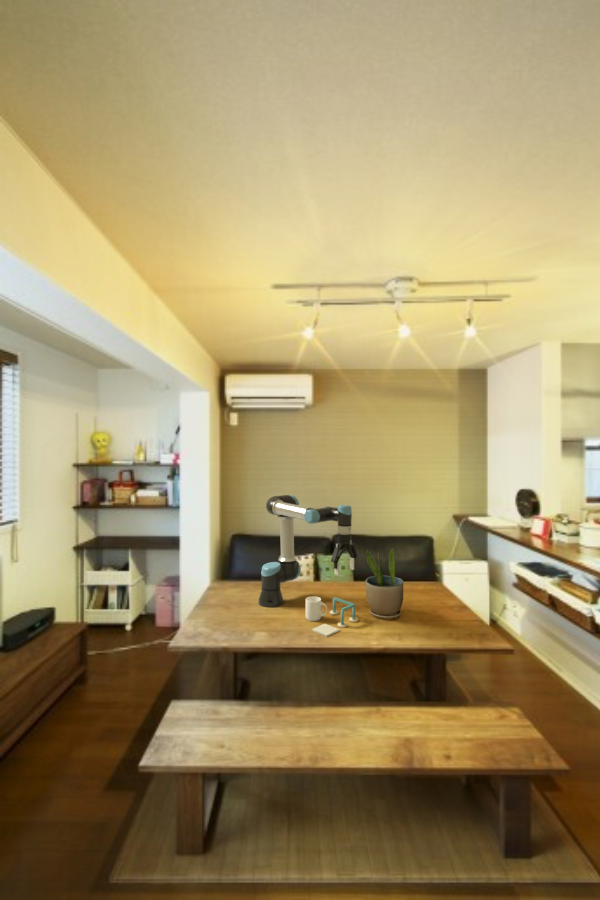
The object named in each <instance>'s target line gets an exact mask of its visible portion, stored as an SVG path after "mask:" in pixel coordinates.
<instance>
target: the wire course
mask: <svg viewBox="0 0 600 900" xmlns="http://www.w3.org/2000/svg"><path fill="white" fill-rule="evenodd" d="M337 602H339V603H341V604H344V605H347V606H344V607H342V608H341V610H340V613H339V611H338V610H337V607H336V606H337V605H336V604H337ZM350 609H351V610H352V612H351V613H352V616H351V617H349V619H348V621H349V622H351V623H358V622H359V617H356V604H355V602H351V601H349V600H344V599H341V598H339V597H335V596H334V597H333V598H332V609H331V610H330V611H329V614H330V615H332V616H337V615H339V614H340V622H338V623H337V628H338V627H339V629H340V628H343V629H344V628H347V627H348V624H347V623H346V622H345V612H346V611H347V610H350Z"/></svg>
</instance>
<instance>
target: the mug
mask: <svg viewBox="0 0 600 900" xmlns="http://www.w3.org/2000/svg"><path fill="white" fill-rule="evenodd" d="M322 606H323V607H325V610H326V611H325V612H324V613H323V612H322ZM327 612H328V607H327V605H326V604H325V603H324V602H323V601H322V598H321V597H319V596H314V595H313V596H308V597H306V598H305V613H304V614H305V619H306V620H307V621H309V622H318V621H320V620H321V618H322V617H325V616H326V615H327Z"/></svg>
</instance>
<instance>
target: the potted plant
mask: <svg viewBox="0 0 600 900" xmlns="http://www.w3.org/2000/svg"><path fill="white" fill-rule="evenodd" d="M388 557H389V560H388V572H389V575H384V571H383V565H382V562H381V558H380V554H379V553H377V558H378V559H377V560H378V562H379V563H378V564H377V562H376V561H375V558H374V557H373V555H372V554H371V552H370V551H369V550H368V549H367V550H366V561H367V565H368V567H369V569H370V570H371V572H372V573H373V575H374V576H373V575H372V576H369V577H367V578H366V579H365V593H366V594H365V595H366V600H367V604H368V606H369V608H370V609H369V613H370V614H371V615H372V616H373V617H375V618H377V619H382V620H395V619H397V618H399V617H400V616H401V615H402V610H401V608H402V606H403V602H404V601H403V600H404V580H403V579H402V578H399V577H396V576H395V575H396V573H395V572H396V571H395V570H396V569H395V568H396V567H395V566H396V563H395V553H394V548H392V549H391V550H390V553H389V556H388Z"/></svg>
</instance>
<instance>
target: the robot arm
mask: <svg viewBox="0 0 600 900" xmlns="http://www.w3.org/2000/svg"><path fill="white" fill-rule="evenodd" d="M337 506H338V507H333V506H323V507H322V508H313V507H308V506H303V505H300V502H299V500H298V498H297V497H296V496H295V495H292V494H282V495H275V496H274V495H273V496H271V497H270V498H268V500H267V501H266V503H265V508H266V511H267V512H268V513H269V514H270V515H273V516H277V518H279V529H280V530H279V531H280V533H279V534H280V535H279V536H280V540H279V541H280V557H279V558H278V562H277V561H271V562H267V563H265V564H263V565H262V567H261V574H260V575H261V587H260V589H261V590H260V594H259V597H258V599H257V600H258V602H257V603H258V605H259V606H261V607H266V608H274V607H278V606H281V605H283V604H284V598H283V597H284V596H283V594H282V590H281V584H282V583H288V582H291V581H294V580H296V579H298V578H299V577H300V574H301V571H302V570H301V565H300V562H299V561H298V559H297V557H295V537H294V536H295V534H294V533H295V532H294V530H295V529H294V519H298V520H301V521H305V522H306V523H307V524H310V525H311V524H319V523H324V522H337V540H338V543H335V544H334V550H333V553H332V555H331V559H330V561H331V562H332V563H333V569H334V570H333V573H334V575H337V576H339V575H340V562H339V561H340V560H341V557H342V555H343V553H344V552H347V553H348V555H349V570H352V571H354V570H355V562H356V561H355V559H356V558H357V557H358V553H357V550H356V547H355V541H354V540H352V519H353V518H352V517H353V511H352V506H351V505H349V504H339V505H337Z"/></svg>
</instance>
